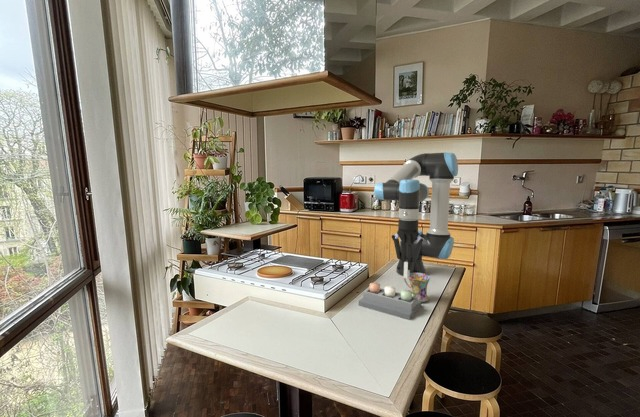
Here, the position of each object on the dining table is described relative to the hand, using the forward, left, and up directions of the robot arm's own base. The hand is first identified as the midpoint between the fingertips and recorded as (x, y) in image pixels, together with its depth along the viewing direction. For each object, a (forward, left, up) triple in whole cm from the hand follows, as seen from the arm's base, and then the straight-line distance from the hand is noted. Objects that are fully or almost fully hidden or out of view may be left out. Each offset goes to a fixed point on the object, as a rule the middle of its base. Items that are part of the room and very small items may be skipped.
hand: (406, 277), depth 123 cm
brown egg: (0, -14, -10) cm, 17 cm away
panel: (0, -7, -14) cm, 16 cm away
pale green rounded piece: (0, 0, -10) cm, 10 cm away
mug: (-14, -1, -14) cm, 20 cm away
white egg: (0, -7, -10) cm, 12 cm away
